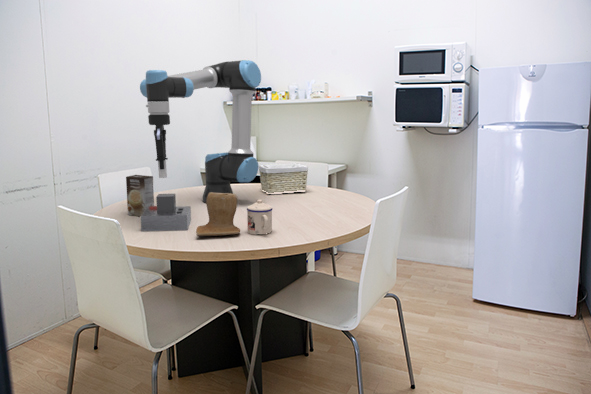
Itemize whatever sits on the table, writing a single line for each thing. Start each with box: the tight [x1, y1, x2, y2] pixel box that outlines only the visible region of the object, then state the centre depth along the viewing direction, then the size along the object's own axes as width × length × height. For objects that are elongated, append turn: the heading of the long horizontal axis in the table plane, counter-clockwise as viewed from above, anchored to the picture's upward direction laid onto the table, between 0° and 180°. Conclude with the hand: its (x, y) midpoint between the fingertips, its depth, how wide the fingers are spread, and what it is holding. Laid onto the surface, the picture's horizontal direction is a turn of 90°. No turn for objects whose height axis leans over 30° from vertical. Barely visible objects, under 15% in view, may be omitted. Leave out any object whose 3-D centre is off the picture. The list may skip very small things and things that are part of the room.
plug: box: [155, 193, 177, 213], centre depth 169 cm, size 6×6×11 cm
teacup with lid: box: [246, 199, 273, 235], centre depth 160 cm, size 12×9×12 cm
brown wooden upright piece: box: [195, 192, 241, 237], centre depth 157 cm, size 15×12×15 cm
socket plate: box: [140, 205, 192, 232], centre depth 170 cm, size 16×16×6 cm
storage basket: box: [258, 163, 309, 193], centre depth 244 cm, size 24×16×15 cm
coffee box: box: [125, 174, 155, 217], centre depth 186 cm, size 9×6×16 cm
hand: (163, 177), depth 171 cm, fingers closed
